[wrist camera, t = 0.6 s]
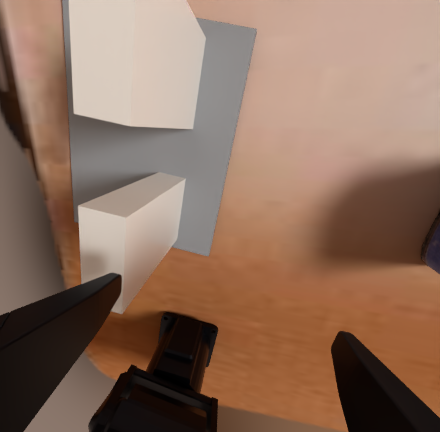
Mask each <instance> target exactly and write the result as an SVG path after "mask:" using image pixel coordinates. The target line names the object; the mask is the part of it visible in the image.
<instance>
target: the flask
mask: <svg viewBox="0 0 440 432" xmlns="http://www.w3.org/2000/svg"><path fill="white" fill-rule="evenodd" d="M421 255H422V257H421V258H422V259H423V260H424V262H425V263H426V264H427V266H429V267H430V268H432V269H433V270H435V271H436V272H437V273H439V274H440V213H439V215H438V217H437V218H436V219H435V222H434V224H433V226H432V228H431V229H430V232H429V234H428V235H427V237H426V241H425V242H424V243H423V248H422V254H421Z"/></svg>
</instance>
